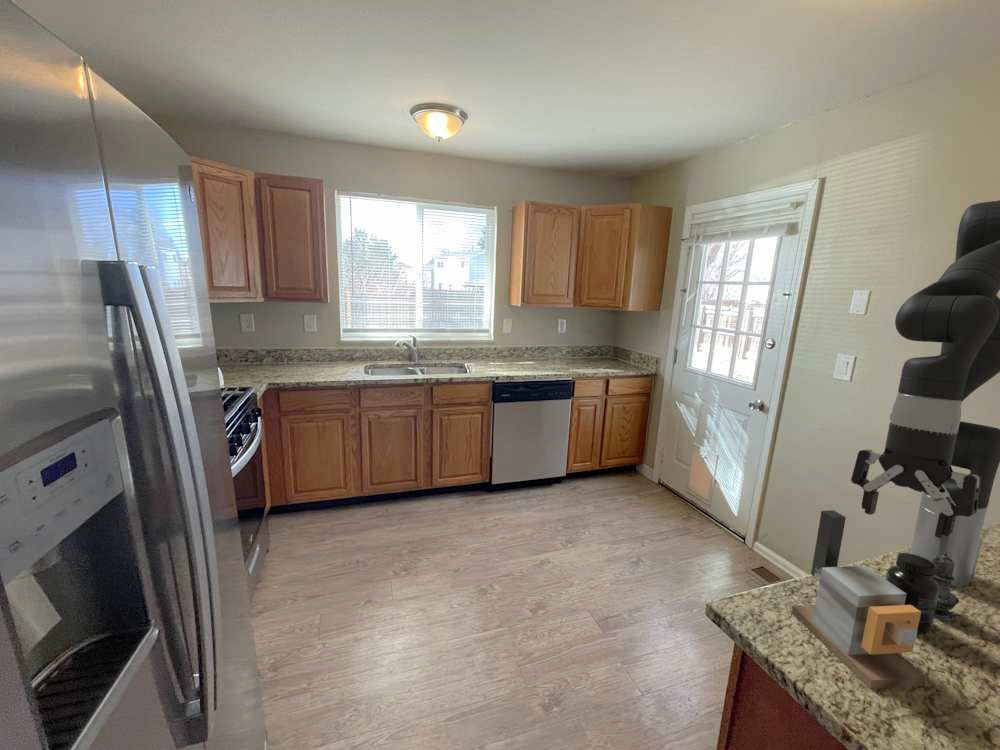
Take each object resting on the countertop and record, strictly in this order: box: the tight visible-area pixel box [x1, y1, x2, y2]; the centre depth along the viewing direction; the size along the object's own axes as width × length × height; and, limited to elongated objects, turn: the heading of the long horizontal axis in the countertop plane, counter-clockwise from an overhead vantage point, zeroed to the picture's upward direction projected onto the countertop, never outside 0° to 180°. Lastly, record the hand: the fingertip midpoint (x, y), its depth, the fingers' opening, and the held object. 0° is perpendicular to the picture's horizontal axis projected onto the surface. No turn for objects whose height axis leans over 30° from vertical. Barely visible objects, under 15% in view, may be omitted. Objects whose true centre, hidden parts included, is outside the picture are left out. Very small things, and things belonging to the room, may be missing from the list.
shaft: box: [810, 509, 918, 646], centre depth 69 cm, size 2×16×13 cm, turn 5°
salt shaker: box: [932, 552, 960, 621], centre depth 79 cm, size 6×6×12 cm
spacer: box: [861, 605, 921, 655], centre depth 65 cm, size 7×2×7 cm, turn 95°
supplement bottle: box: [885, 552, 940, 634], centre depth 76 cm, size 7×7×12 cm
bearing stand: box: [791, 565, 928, 690], centre depth 70 cm, size 9×16×12 cm, turn 5°
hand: (902, 524), depth 68 cm, fingers open, 8 cm apart
